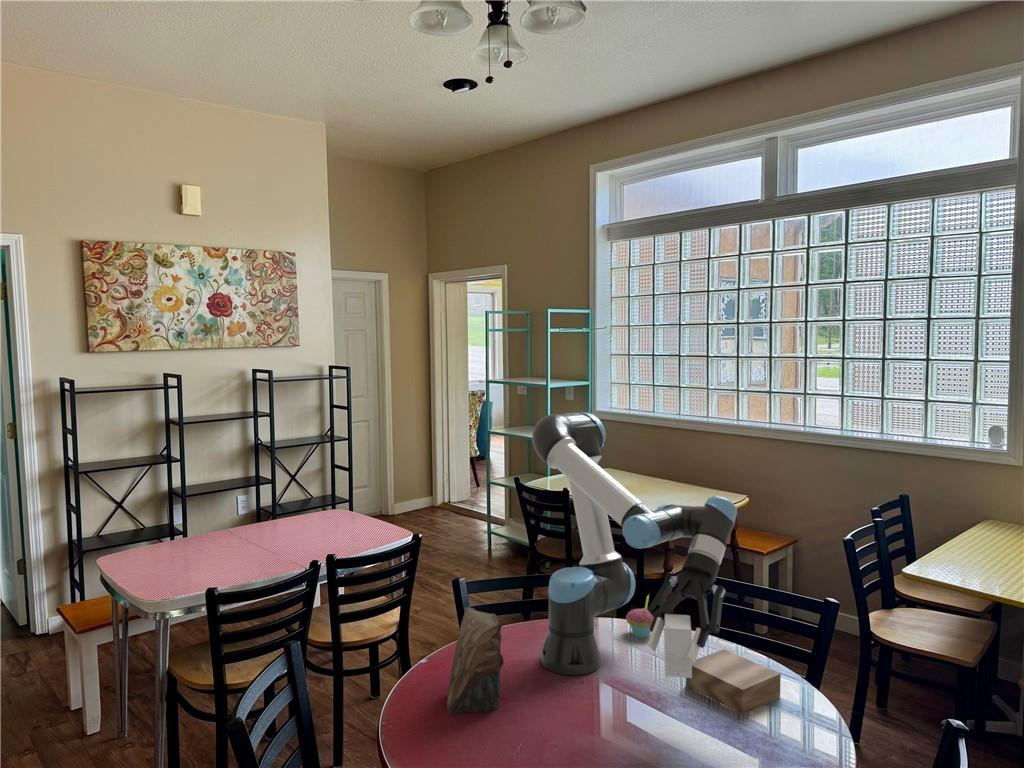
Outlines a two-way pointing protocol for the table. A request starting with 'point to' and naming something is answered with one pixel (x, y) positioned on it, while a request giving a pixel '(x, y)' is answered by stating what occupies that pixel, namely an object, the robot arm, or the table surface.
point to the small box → (677, 645)
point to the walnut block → (734, 681)
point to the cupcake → (640, 621)
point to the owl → (476, 665)
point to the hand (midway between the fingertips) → (670, 653)
